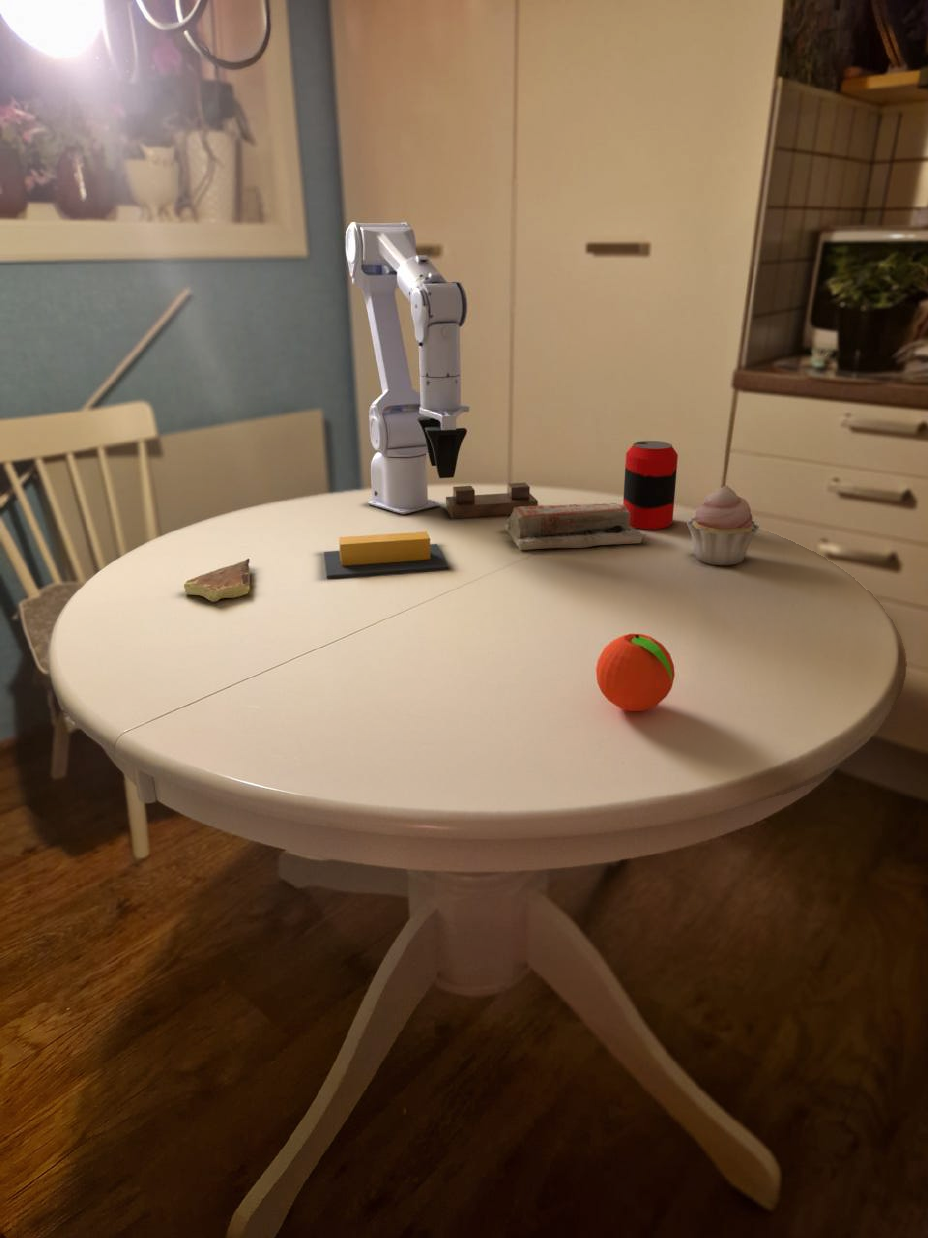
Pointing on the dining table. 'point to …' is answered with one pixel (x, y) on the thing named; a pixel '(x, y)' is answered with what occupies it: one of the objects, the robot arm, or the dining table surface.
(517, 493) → the brown two-peg stand
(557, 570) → the dining table surface
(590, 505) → the packaged product
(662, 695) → the clementine
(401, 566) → the mat
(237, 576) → the shard
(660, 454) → the soda can
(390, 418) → the robot arm
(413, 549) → the bar
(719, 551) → the cupcake
